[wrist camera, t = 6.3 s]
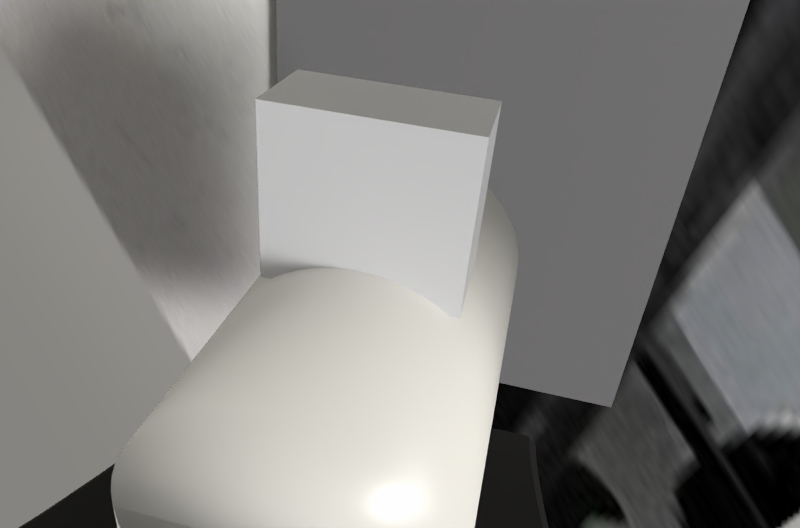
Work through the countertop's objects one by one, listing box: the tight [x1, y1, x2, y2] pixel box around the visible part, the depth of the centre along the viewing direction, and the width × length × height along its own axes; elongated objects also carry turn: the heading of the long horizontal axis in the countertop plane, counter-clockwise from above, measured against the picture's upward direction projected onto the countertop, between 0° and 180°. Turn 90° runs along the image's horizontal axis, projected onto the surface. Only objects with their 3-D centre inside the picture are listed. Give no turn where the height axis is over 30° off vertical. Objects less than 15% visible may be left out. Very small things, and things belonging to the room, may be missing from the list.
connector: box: [111, 69, 519, 528], centre depth 8 cm, size 10×3×5 cm, turn 175°
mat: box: [276, 0, 750, 407], centre depth 17 cm, size 11×10×1 cm
